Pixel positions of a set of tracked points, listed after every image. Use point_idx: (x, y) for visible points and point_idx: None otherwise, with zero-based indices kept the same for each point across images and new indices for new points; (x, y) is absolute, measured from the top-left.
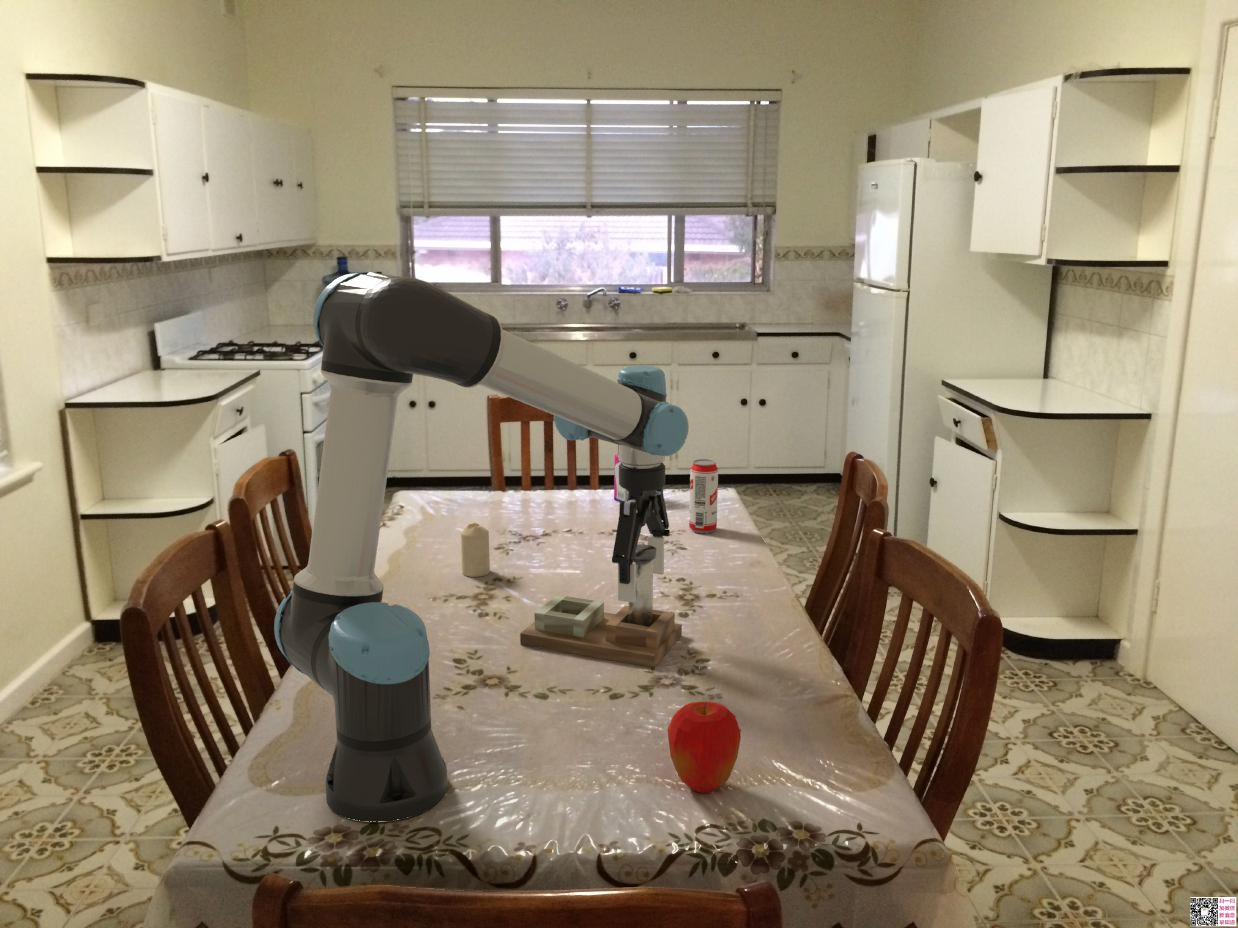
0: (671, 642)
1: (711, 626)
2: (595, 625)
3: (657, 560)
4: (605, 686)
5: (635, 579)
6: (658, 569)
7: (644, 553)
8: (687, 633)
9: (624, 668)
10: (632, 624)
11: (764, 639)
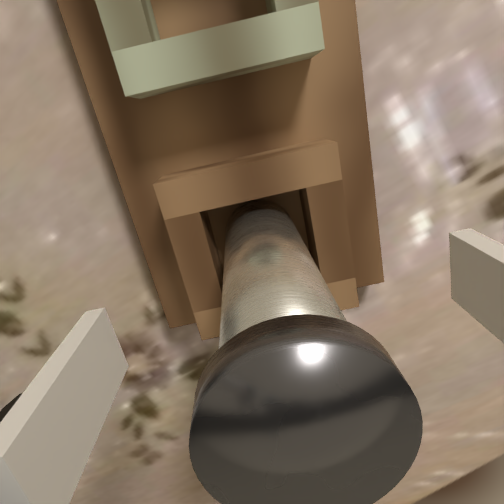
0: None
1: None
2: (239, 75)
3: (491, 309)
4: (19, 282)
5: (94, 441)
6: (464, 290)
7: (237, 501)
8: (390, 274)
9: (125, 263)
10: (207, 256)
11: (435, 411)
